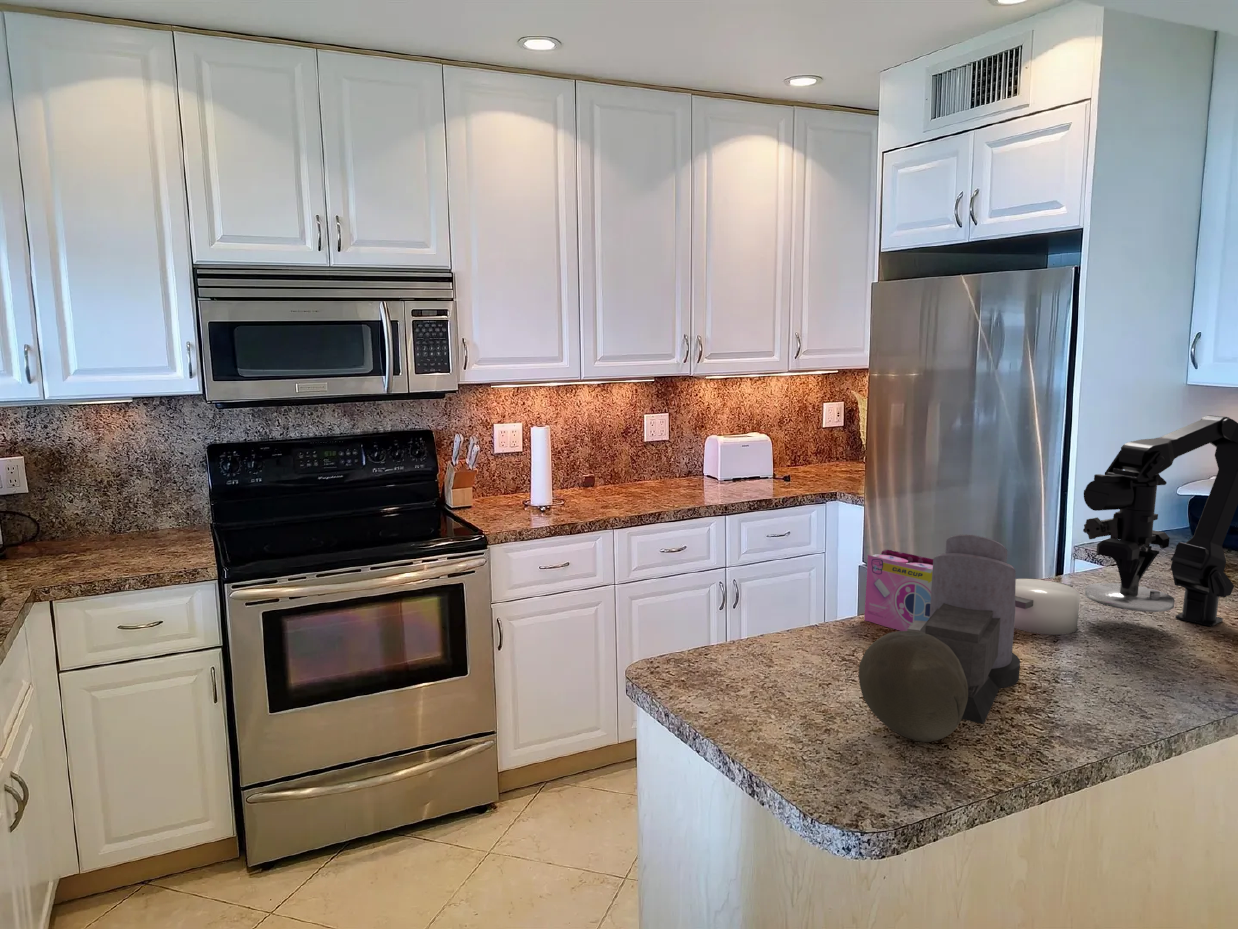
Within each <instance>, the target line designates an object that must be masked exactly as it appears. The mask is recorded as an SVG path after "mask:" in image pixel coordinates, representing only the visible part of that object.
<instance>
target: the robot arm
mask: <svg viewBox="0 0 1238 929" xmlns="http://www.w3.org/2000/svg"><path fill="white" fill-rule="evenodd" d="M1208 444H1211V445H1212V446H1213V447H1215V451H1214V459H1215V461H1216V466H1217V469H1218V470H1217V473H1216V476H1215V478H1214V482H1213V484H1212V487H1211V490H1210V491H1209V494H1208V498H1206V502H1205V505H1204V506H1203V507H1204V508H1203V510H1202V513H1201V516H1200V518H1199V521H1198V524H1197V526H1196V529H1195V531H1194V535H1193V536H1192V538H1190V539H1189V540H1188V541H1186V542H1182V541H1179V542H1178V543H1177V544H1176V545H1175V549H1174V550H1175V551H1174V553H1173V556H1171V558H1170V561H1171V564H1170V570H1171V572H1172V577H1173V578H1172V579H1173V583H1174V586H1177V587H1182V588H1184V595H1183V603H1182V604H1183V606H1182V612H1180V613H1178V614H1176V615H1175V618H1174V619H1177V620H1181V621H1185V622H1189V623H1190V622H1191V623H1195V624H1200V625H1204V626H1207V627H1214V626H1215V625H1218V624H1219V623H1221V622H1223V621H1224V620H1223V619H1224V618H1223V617H1218V609H1219V607H1218V606H1219V601H1220V600H1219V598H1227V597H1228V596H1231V595H1232V593H1233V590H1234V587H1235V585H1234V583H1233V582H1232V581H1231V579H1230V578H1229V576H1228V575H1227V573H1225V568H1226V565H1227V559H1226V556H1225V552H1224V549H1223V546H1224V545H1223V544H1224V542H1225V539H1226V537H1227V534H1228V531H1229V529H1230V526H1231V523H1232V521H1233V520H1234V519H1233V518H1234V516H1235V513H1236V510H1237V507H1238V422H1237V421H1236V420H1235V419H1232V418H1230V417H1228V416H1219V415H1206V416H1203V417H1201V419H1200V420H1197V421H1194V422H1193V423H1190V424H1187V425H1186V426H1183V427H1181V428H1178V429H1176V430H1173V431H1172V432H1169V433H1166V434H1164V435H1162V436H1160V437H1155V438H1145V439H1141V438H1140V439H1137V440H1133V441H1132V440H1131V441H1129V442H1128V441H1127V442H1126V443H1124V444H1123V445H1121V447H1120V450H1119V451H1118V453H1117V454H1116V456H1115V458H1114V459H1113V460H1112V462H1111V463H1110V465H1109V466H1108V468H1107V469H1106V470H1105V471H1104V474H1101V473H1097V474H1094V476H1093V477H1094V478H1093V480H1092V481H1090V482H1088V484H1087V485H1086V486H1085V489H1084V490H1083V500H1084V502H1085V505H1087V507H1088V508H1089V509H1090V510H1092V511H1097V512H1098V511H1115V510H1119V511H1115V512H1114V513H1113V516H1112V518H1107V519H1102V520H1101V519H1100V518H1099V517H1094V518H1093V517H1092V518H1088V519H1086V521H1085V524H1083V526H1084V528H1083V530H1082V532H1084V533H1085V534H1086V535H1087V537H1088V539H1089V540H1095V539H1096V538H1100V537H1108V536H1110V537H1109V538H1106V539H1103V540H1102V541H1099V542H1098V543H1097V544H1096V550H1095V551H1096V552H1095V554H1096V555H1099V556H1102V557H1103V556H1104V557H1108V558H1111V559H1112V560H1113V561H1115V564H1116V566H1117V570H1118V574H1119V579H1120V584H1121V583H1122V587H1123V588H1126V589H1129V588H1130V586H1131V584H1132V583H1133V581H1134V579H1135V577H1136V575H1137V573H1138V574H1140V578H1139V582H1140V581H1141V580H1142V578H1143V576H1144V575H1145V573H1146V572H1147V570H1148V569H1149V567H1150V566H1151V565H1152V563H1153V562H1154V560H1155V559H1156V557H1157V556H1158V555H1160V551H1159V550H1155V549H1153V548H1152V545H1157V546H1159V548H1160V549H1166V548H1168V547H1169V546H1170V545H1169V544H1170V537H1169V535H1168V534H1167V533H1166V531H1159V530H1154V521H1156V520H1158V519H1159V514H1158V513H1155V511H1156V510H1155V509H1156V503H1157V502H1156V501H1157V491H1158V486H1166V485H1167V480H1165V479H1164V478H1163V477H1162V476H1161V475H1160V474H1161V473H1162V472H1164V471H1165V470H1167V469H1168V468H1170V467H1171V466H1172V465H1173V463H1174V460H1176V459H1177V458H1178V457H1181V456H1183V455H1185V454H1187V453H1190V452H1192V451H1195V450H1197V449H1199V448H1202V447H1203V446H1206V445H1208Z"/></svg>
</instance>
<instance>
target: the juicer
mask: <svg viewBox="0 0 1238 929" xmlns="http://www.w3.org/2000/svg"><path fill="white" fill-rule="evenodd" d="M932 559H933V571H932V586H931V603H930V618H929V620H928V621H917V620H915V621H914V622H913V623H912V624H911V625H910V626H909V628H908V629H907V631H916V632H922V633H925V634H929V635H931V636H933V637H935V638H937V639H938V640H940V641H941V642H943V643H944V644H946V645H947V646H949V647H950V649H951V650H952V651H953V652H954V654H955V655H956V657H957V658H958V659H959V661H960V664H961V666H962V668H963V671H964V674H965V677H966V680H967V685H968V701H967V704H966V708H965V711H964V714H963V716H962V719H961V720H962V721H963V720H964V721H968V722H973V723H976V724H981V725H984V724H985V722H986V720H987V717H988V715H989V713H990V711H991V709H992V706H993V705H994V702H995V700H996V698H997V695H998V693H999V691H1000V690H1001V689H1006V688H1009V687H1012V686H1014V685H1017V683H1018V682H1019V680H1020V672H1021V669H1020V668H1021V660H1020V658H1019V656H1018V655H1016V654H1015V653H1014V652H1013V648H1014V636H1015V635H1014V634H1015V633H1014V632H1015V628H1014V623H1015V610H1016V608H1015V588H1016V579H1017V577H1016V576H1017V575H1016V574H1017V573H1016V569H1015V568H1014V567H1013V565H1011V564H1009V563H1007V562H1008V550H1007V548H1006V547H1005V546H1004V544H1002V543H1001V542H998V541H996V540H994V539H991V538H988V537H984V536H980V535H975V534H955V535H952V536H949V537H948V538H947V539H946V541H945V552H944V553H939V554H937V555H936V556H934V557H933V558H932Z"/></svg>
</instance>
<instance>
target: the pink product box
mask: <svg viewBox="0 0 1238 929" xmlns="http://www.w3.org/2000/svg"><path fill="white" fill-rule="evenodd" d="M933 559H934V558H930V557H926V556H922V555H921V556H920V555H917V554H916V555H915V554H911V553H907V552H902V551H897V550H893V549H883V550H882V551H881V554H878V553H877V554H872V555H870V554H869V553H867V557H866V586H865V598H864V602H865V603H864V615H863V617H864V618H863V620H864V621H866V622H870V623H873V624H877V625H879V626H882V627H887V628H889V629H893V630H896V631H907V629H908V628H909V626H910V625H911V624H912V623H913V622H914V621H915V620H917V621H928V620H929V618H930V603H931V586H932V571H933Z"/></svg>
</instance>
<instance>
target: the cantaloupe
mask: <svg viewBox="0 0 1238 929" xmlns="http://www.w3.org/2000/svg"><path fill="white" fill-rule="evenodd" d="M858 682H859V687H860V688H859V689H860V691H861V694H862V698H863V700H864V702H865V704H866V705H867V707H868V708H869V710H870V711H871V712H872V713H873V714H874V716H875V717H876V718H877V719H879V720H878V721H880V722H882V724H883V725H885V727H887V728H888V729H890V730H891V731H893V732H894V733H897V734H898V735H900V736H903V737H904V738H907V739H910V740H912V741H916V742H923V743H928V742H929V743H931V742H935V741H940V740H941V739H944V738H947V737H948V736H950V735H951V734H952V733H954V731H956V729H957V728H958V726H959V725H960V723H961V721H962V720H963V719H962V716H963V714H964V711H965V708H966V704H967V701H968V685H967V680H966V677H965V674H964V671H963V668H962V666H961V664H960V661H959V659H958V658H957V657H956V655H955V654H954V652H953V651H952V650H951V649H950V647H949V646H947V645H946V644H944V643H943V642H941V641H940V640H938V639H937V638H935V637H933V636H931V635H929V634H925V633H922V632H916V631H899V630H896V631H892V632H888V633H886V634H884V635H883V636H881V637H879V638H878V639H876V640H875V641H874V642H872V643H871V645H869V646H868V648H866V650H865V652H864V654H863V656H862V657H861V660H860V662H859V665H858Z"/></svg>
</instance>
